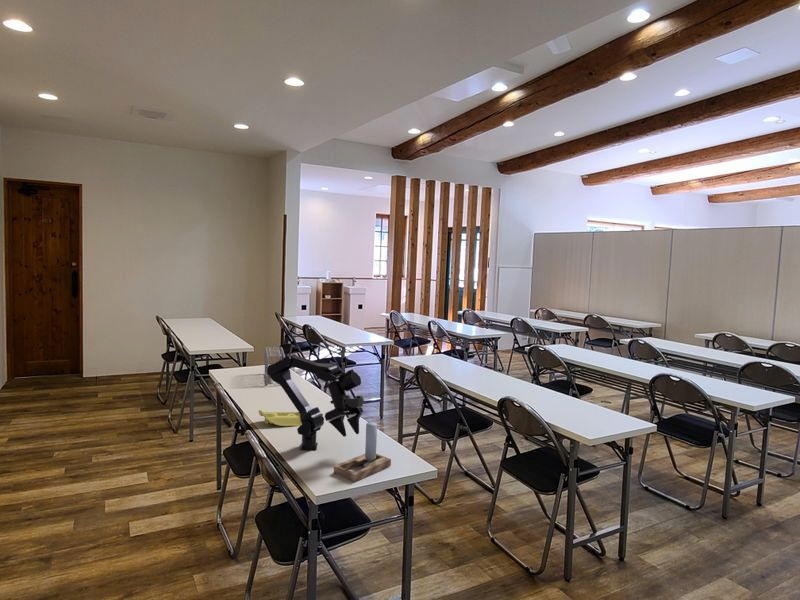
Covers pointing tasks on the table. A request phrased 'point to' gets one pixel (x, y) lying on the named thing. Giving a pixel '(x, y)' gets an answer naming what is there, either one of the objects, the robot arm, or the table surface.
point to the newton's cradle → (272, 362)
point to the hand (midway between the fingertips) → (351, 435)
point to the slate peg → (370, 442)
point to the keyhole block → (371, 468)
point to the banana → (282, 418)
